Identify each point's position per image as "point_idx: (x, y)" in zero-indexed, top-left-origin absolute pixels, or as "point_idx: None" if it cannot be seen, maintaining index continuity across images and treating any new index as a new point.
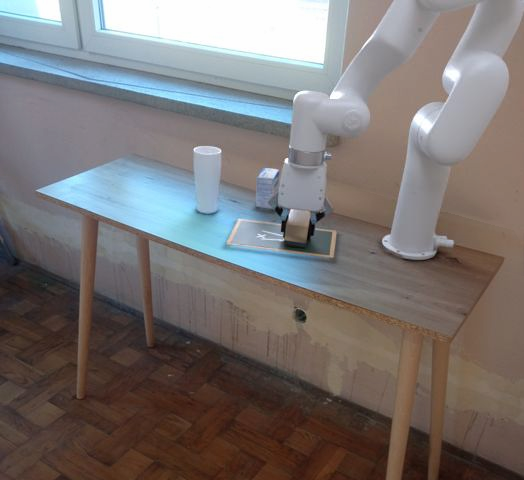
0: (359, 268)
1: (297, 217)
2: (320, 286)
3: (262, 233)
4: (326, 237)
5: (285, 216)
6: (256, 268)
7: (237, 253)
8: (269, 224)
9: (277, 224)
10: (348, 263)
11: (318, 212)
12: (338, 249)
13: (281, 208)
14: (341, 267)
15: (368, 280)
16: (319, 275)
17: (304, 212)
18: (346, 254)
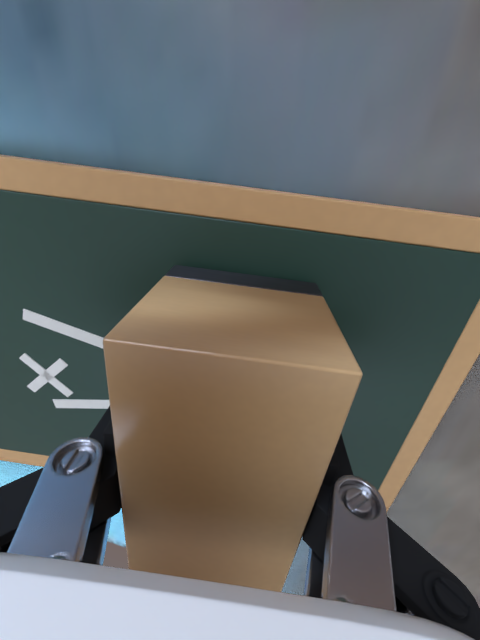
0: (469, 529)
1: (196, 526)
2: (299, 591)
3: (40, 344)
4: (418, 349)
5: (97, 539)
6: (113, 531)
7: (20, 464)
8: (31, 201)
9: (85, 189)
10: (439, 505)
11: (403, 596)
12: (446, 410)
13: (7, 537)
14: (398, 525)
15: (463, 576)
16: (306, 557)
17: (263, 437)
18: (466, 448)
